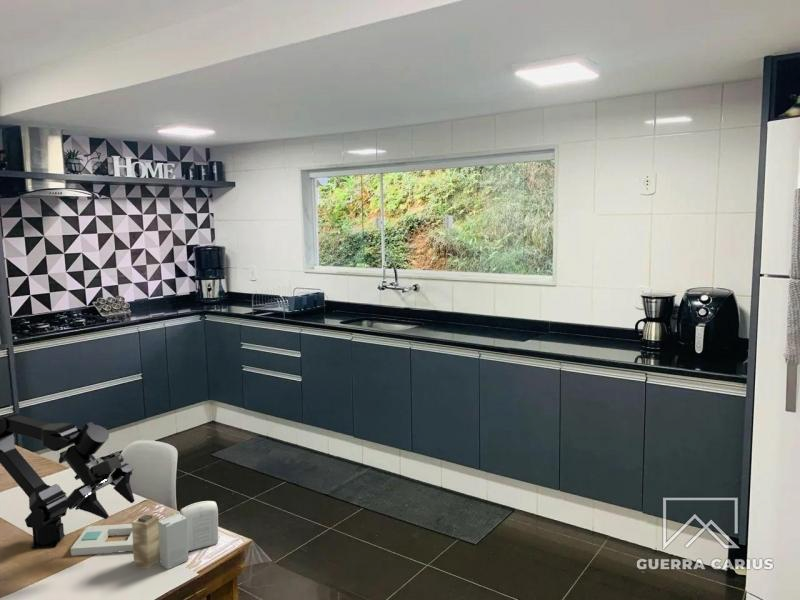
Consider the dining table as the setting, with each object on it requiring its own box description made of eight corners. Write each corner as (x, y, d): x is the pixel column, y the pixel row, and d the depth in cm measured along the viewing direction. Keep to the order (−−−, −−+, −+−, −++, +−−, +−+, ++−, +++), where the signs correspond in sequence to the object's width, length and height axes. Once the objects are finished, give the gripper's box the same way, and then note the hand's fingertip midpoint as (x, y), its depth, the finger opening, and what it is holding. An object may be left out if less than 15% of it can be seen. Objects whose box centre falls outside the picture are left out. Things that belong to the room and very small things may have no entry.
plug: (134, 565, 155) (131, 519, 153) (146, 556, 159) (144, 511, 157) (148, 568, 153) (146, 522, 152) (160, 559, 158) (158, 514, 156)
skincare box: (180, 554, 160) (178, 512, 158) (189, 560, 157) (188, 517, 156) (158, 564, 155) (156, 520, 154) (167, 571, 152) (165, 526, 151)
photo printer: (216, 537, 169) (214, 495, 168) (220, 543, 166) (219, 501, 164) (178, 547, 164) (176, 504, 162) (182, 554, 160) (180, 510, 159)
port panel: (71, 555, 159) (70, 547, 159) (87, 532, 171) (87, 525, 171) (149, 550, 162) (149, 542, 162) (160, 528, 174) (160, 521, 173)
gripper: (71, 459, 147) (110, 508, 146) (126, 434, 165) (161, 477, 163) (48, 485, 151) (86, 533, 149) (105, 458, 168) (139, 501, 166)
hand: (120, 509), depth 157 cm, fingers open, 9 cm apart
